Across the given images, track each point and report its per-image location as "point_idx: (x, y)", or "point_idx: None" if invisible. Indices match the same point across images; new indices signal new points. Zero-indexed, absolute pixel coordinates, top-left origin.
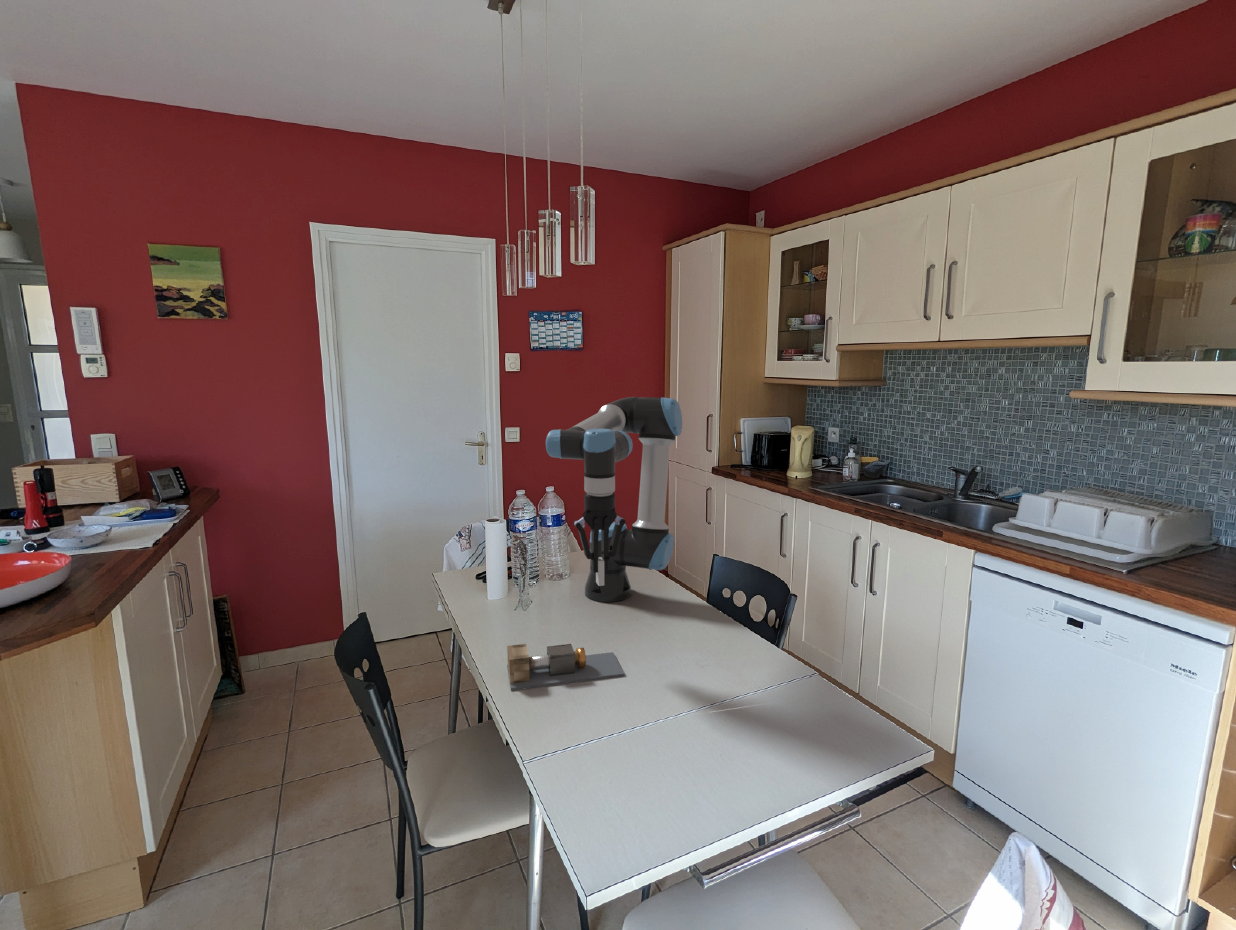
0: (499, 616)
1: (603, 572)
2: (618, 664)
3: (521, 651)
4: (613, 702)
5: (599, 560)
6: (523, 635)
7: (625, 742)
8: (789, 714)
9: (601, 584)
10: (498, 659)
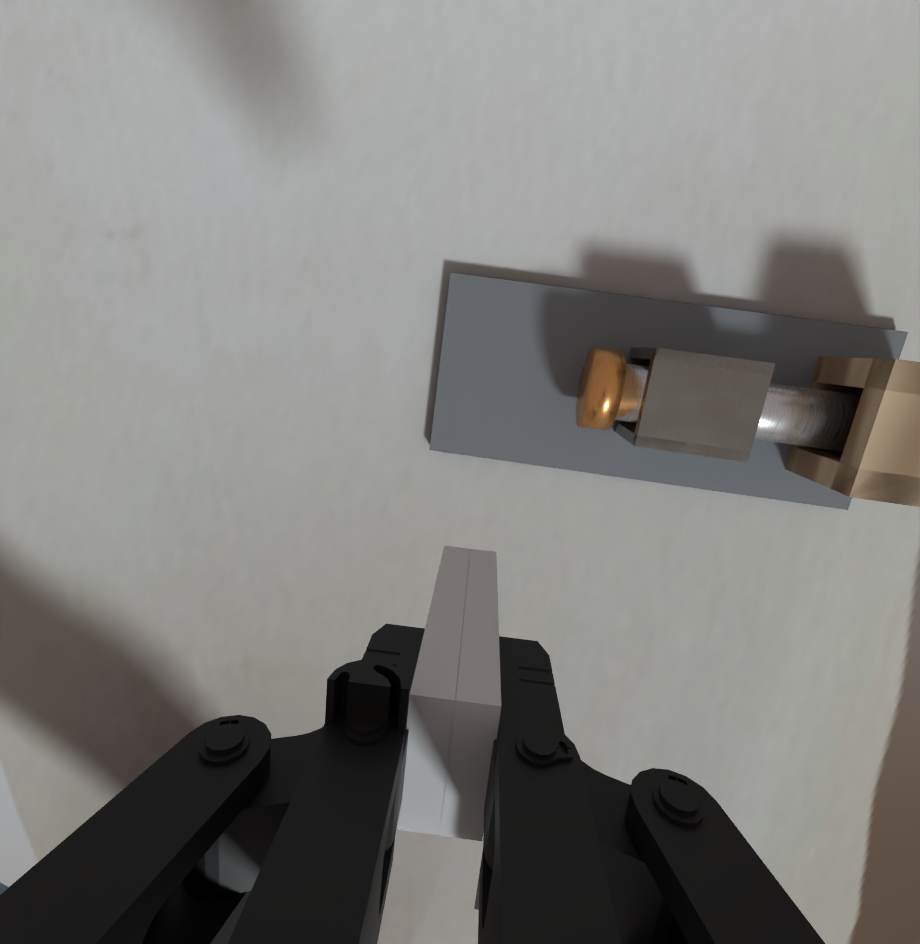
0: None
1: (440, 604)
2: (445, 349)
3: (901, 431)
4: (564, 100)
5: (474, 728)
6: (690, 707)
7: None
8: None
9: (470, 552)
10: (845, 575)
